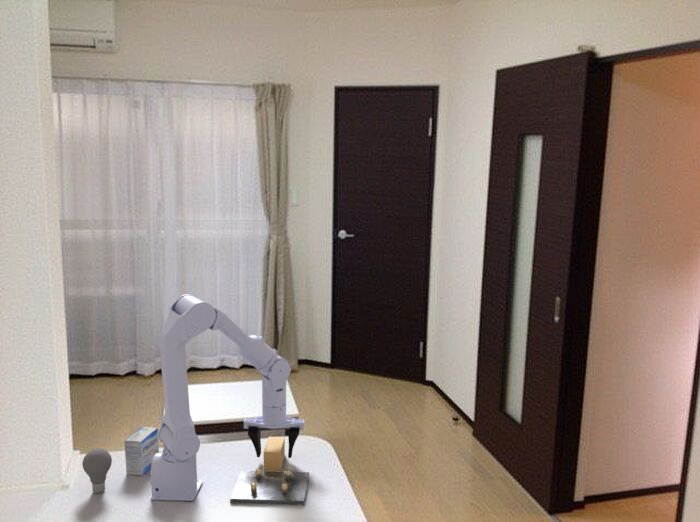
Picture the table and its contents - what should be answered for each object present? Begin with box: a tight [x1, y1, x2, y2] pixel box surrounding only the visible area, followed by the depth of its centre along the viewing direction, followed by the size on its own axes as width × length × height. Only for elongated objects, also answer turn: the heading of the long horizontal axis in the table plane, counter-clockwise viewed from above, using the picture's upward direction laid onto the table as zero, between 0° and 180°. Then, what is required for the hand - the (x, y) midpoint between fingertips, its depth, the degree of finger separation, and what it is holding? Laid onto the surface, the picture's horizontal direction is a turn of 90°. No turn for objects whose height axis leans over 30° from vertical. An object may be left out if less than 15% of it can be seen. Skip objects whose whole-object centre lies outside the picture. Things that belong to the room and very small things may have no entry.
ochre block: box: [263, 436, 286, 472], centre depth 152 cm, size 4×8×5 cm, turn 179°
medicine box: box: [124, 426, 160, 477], centre depth 148 cm, size 8×4×9 cm, turn 168°
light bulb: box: [81, 447, 113, 494], centre depth 137 cm, size 6×6×10 cm
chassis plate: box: [229, 467, 310, 506], centre depth 140 cm, size 16×12×3 cm
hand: (274, 455), depth 152 cm, fingers open, 7 cm apart
